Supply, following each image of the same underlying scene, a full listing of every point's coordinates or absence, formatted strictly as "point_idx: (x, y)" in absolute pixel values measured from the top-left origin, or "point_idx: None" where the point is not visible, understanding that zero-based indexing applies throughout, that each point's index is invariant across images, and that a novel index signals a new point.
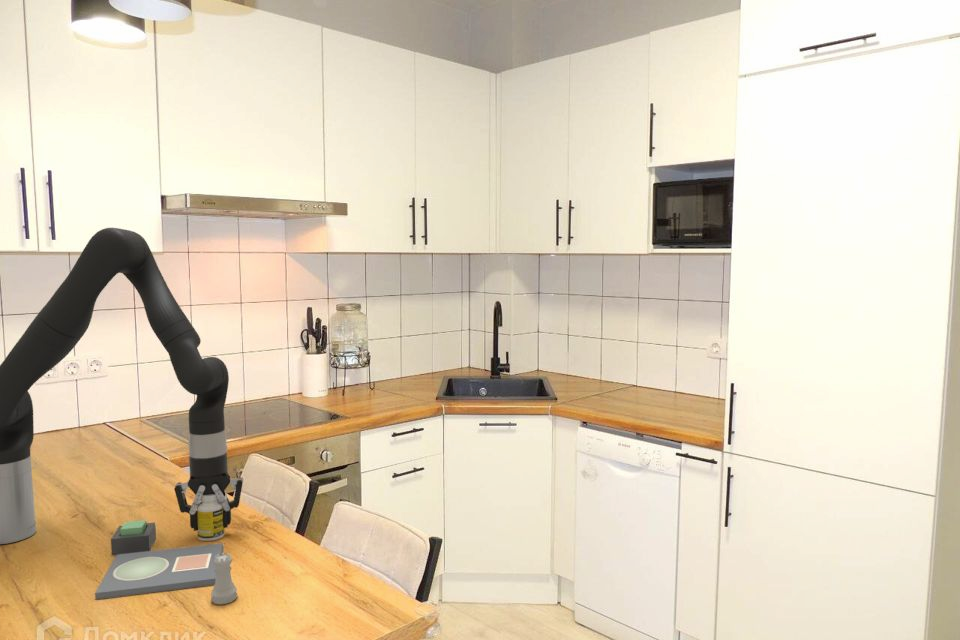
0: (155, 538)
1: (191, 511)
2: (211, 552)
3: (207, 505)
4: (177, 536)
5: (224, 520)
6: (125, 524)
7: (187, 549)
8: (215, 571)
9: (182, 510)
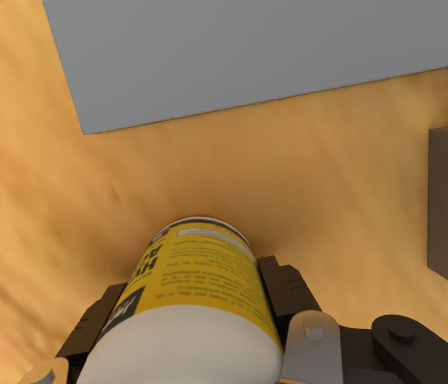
0: (429, 259)
1: (321, 326)
2: (99, 3)
3: (181, 379)
4: (344, 276)
5: (107, 306)
6: None
7: (250, 64)
8: None
9: (404, 325)
